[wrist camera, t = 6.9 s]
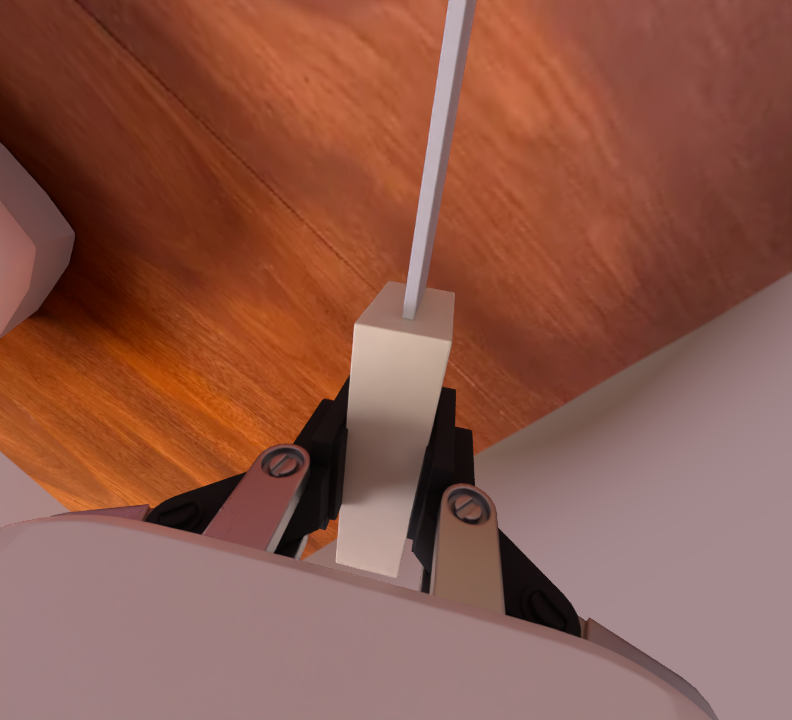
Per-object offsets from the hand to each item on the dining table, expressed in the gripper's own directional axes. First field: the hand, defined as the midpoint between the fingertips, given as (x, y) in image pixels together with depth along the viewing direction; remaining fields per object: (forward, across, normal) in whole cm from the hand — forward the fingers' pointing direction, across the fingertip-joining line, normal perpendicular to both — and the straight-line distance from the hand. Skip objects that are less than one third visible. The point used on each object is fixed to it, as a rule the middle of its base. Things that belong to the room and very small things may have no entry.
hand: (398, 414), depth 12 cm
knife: (+1, 0, -5) cm, 5 cm away
